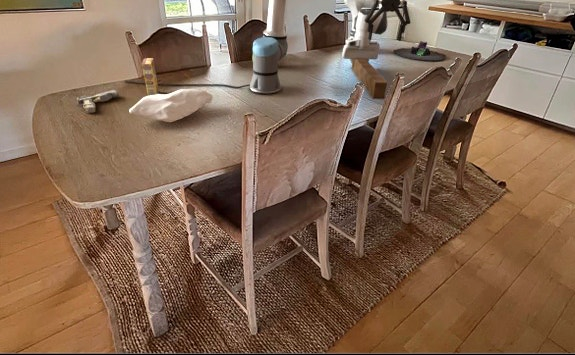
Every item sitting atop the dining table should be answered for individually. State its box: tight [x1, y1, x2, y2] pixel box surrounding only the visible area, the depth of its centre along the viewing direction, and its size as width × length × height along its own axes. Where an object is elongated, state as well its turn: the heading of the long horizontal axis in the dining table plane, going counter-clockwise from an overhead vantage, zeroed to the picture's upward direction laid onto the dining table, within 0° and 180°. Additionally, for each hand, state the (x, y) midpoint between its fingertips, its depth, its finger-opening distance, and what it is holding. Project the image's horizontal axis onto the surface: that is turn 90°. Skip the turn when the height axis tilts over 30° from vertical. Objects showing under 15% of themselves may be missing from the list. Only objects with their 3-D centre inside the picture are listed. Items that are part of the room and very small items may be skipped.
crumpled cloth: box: [129, 88, 214, 123], centre depth 147 cm, size 24×35×9 cm
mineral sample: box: [392, 40, 447, 61], centre depth 247 cm, size 35×35×9 cm
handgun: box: [76, 89, 120, 114], centre depth 155 cm, size 3×18×15 cm
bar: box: [350, 58, 388, 99], centre depth 193 cm, size 51×6×8 cm, turn 4°
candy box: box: [141, 57, 160, 96], centre depth 163 cm, size 9×4×15 cm, turn 13°
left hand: (384, 40), depth 165 cm, fingers open, 13 cm apart
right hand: (358, 66), depth 210 cm, fingers closed on bar, 5 cm apart
